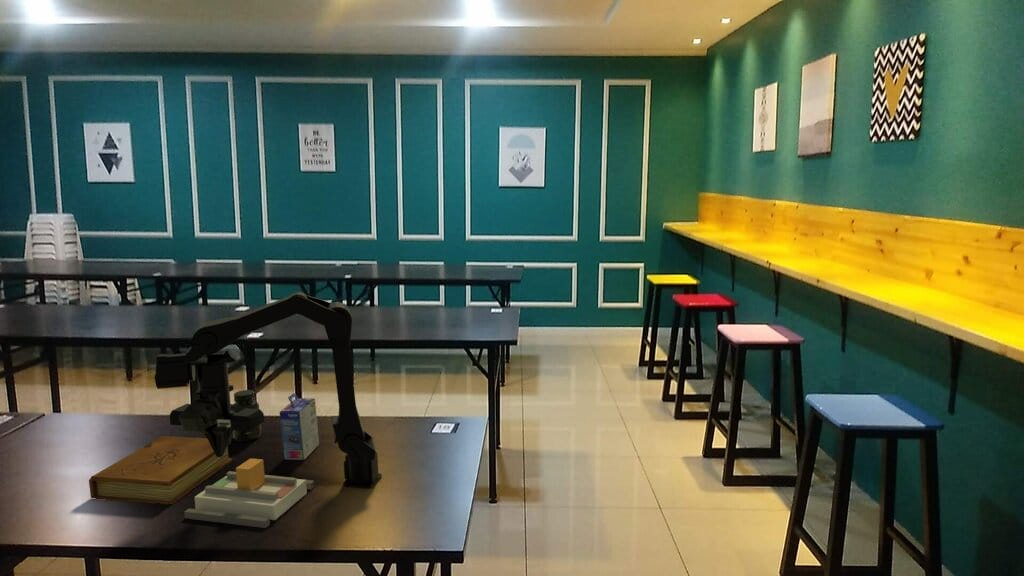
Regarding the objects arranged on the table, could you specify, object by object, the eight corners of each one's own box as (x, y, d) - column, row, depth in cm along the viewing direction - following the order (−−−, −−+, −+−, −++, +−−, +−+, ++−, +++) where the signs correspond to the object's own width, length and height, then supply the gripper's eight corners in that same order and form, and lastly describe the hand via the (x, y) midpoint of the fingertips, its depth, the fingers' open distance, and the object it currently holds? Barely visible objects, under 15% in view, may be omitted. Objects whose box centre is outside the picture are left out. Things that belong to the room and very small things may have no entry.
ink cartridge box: (298, 444, 177) (294, 388, 175) (319, 444, 177) (316, 389, 174) (282, 460, 168) (277, 401, 165) (304, 460, 167) (300, 401, 165)
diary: (161, 458, 171) (159, 435, 170) (232, 462, 168) (231, 439, 167) (91, 501, 149) (88, 475, 148) (171, 506, 146) (169, 480, 145)
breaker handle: (264, 482, 148) (263, 459, 147) (250, 492, 143) (248, 469, 142) (252, 480, 148) (250, 458, 148) (237, 491, 144) (235, 468, 143)
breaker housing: (306, 493, 150) (305, 474, 149) (275, 520, 138) (273, 500, 138) (232, 485, 154) (231, 467, 153) (195, 510, 143) (194, 491, 142)
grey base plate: (314, 486, 153) (314, 480, 153) (265, 528, 135) (265, 521, 135) (241, 479, 157) (241, 473, 157) (184, 518, 140) (184, 511, 139)
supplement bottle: (232, 435, 184) (228, 390, 182) (260, 430, 187) (256, 387, 185) (234, 444, 178) (230, 398, 176) (262, 439, 181) (259, 394, 179)
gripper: (145, 393, 138) (153, 468, 141) (229, 399, 134) (235, 476, 137) (184, 377, 149) (191, 447, 152) (263, 382, 145) (268, 454, 147)
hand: (220, 456), depth 146 cm, fingers closed
